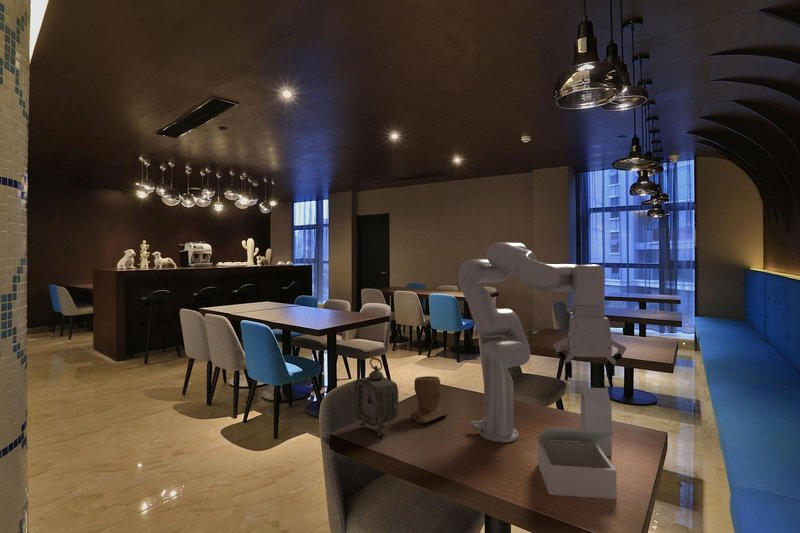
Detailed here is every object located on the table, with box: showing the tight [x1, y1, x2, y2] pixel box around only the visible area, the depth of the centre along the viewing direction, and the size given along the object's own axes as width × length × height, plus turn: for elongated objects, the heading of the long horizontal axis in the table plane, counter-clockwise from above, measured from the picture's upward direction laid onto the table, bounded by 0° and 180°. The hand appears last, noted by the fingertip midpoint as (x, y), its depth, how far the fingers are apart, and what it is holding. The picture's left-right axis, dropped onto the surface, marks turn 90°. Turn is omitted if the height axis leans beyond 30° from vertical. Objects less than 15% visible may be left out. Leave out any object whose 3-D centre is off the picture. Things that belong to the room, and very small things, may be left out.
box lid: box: [536, 427, 614, 442], centre depth 110 cm, size 16×16×1 cm
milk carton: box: [579, 387, 613, 457], centre depth 126 cm, size 7×7×19 cm
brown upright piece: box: [409, 375, 449, 424], centre depth 155 cm, size 15×12×15 cm
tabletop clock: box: [354, 357, 400, 437], centre depth 143 cm, size 14×9×25 cm, turn 38°
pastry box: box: [537, 439, 618, 500], centre depth 109 cm, size 16×16×7 cm
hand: (589, 377), depth 108 cm, fingers open, 9 cm apart
